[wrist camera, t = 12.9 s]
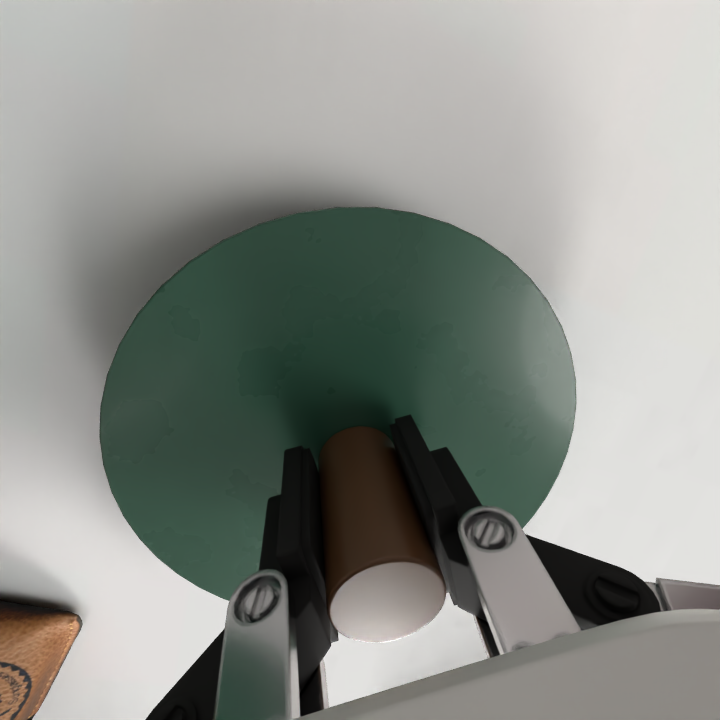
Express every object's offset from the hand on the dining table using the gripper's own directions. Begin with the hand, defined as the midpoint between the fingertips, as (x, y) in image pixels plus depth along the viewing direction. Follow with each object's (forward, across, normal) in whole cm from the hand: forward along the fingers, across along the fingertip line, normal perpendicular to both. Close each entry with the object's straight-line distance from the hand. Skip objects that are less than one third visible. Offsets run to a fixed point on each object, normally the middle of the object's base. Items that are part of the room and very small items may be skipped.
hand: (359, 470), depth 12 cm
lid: (+1, 0, 0) cm, 1 cm away
